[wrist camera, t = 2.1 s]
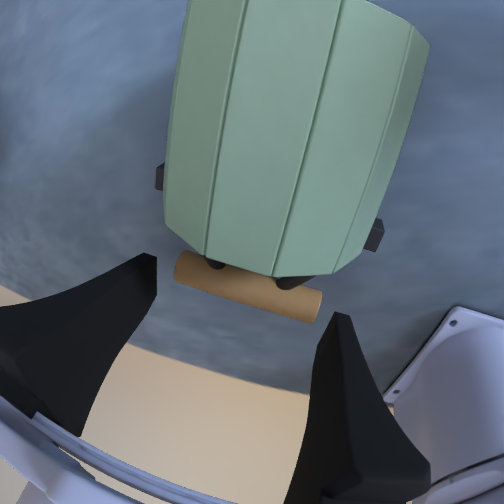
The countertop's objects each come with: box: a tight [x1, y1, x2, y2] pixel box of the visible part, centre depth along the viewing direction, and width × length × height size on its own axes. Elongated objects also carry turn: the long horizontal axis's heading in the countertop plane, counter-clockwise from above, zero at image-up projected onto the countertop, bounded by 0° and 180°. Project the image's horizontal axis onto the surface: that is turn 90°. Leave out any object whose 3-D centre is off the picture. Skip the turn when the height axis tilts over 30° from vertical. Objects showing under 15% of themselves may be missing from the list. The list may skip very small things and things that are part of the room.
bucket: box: [155, 0, 430, 324], centre depth 10 cm, size 7×8×11 cm
